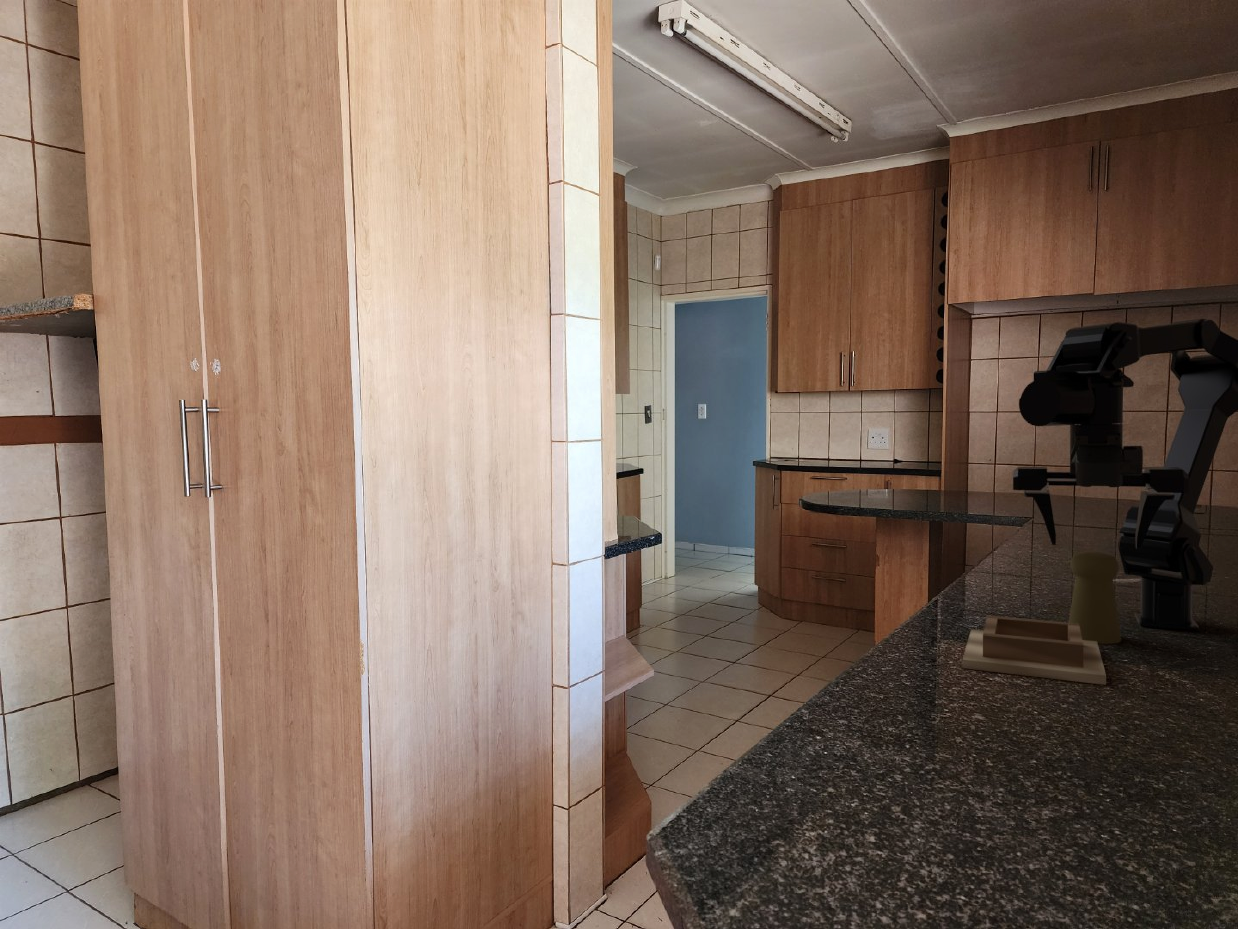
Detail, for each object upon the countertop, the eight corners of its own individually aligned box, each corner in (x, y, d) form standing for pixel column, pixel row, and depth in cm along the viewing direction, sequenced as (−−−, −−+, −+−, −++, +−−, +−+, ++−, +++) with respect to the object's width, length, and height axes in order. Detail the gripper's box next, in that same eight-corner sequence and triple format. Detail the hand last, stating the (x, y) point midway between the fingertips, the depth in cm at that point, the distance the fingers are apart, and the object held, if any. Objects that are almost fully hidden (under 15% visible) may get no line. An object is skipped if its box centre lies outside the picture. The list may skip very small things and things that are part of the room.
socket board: (971, 637, 102) (971, 610, 102) (1096, 649, 95) (1097, 621, 95) (962, 668, 90) (962, 638, 90) (1106, 685, 83) (1106, 652, 83)
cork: (1129, 644, 97) (1131, 556, 97) (1076, 643, 98) (1077, 556, 98) (1109, 631, 103) (1110, 548, 103) (1059, 630, 104) (1060, 548, 104)
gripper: (1012, 427, 97) (1011, 552, 97) (1198, 423, 88) (1196, 562, 89) (1014, 425, 106) (1013, 539, 107) (1181, 422, 98) (1180, 546, 98)
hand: (1095, 546), depth 100 cm, fingers open, 9 cm apart
